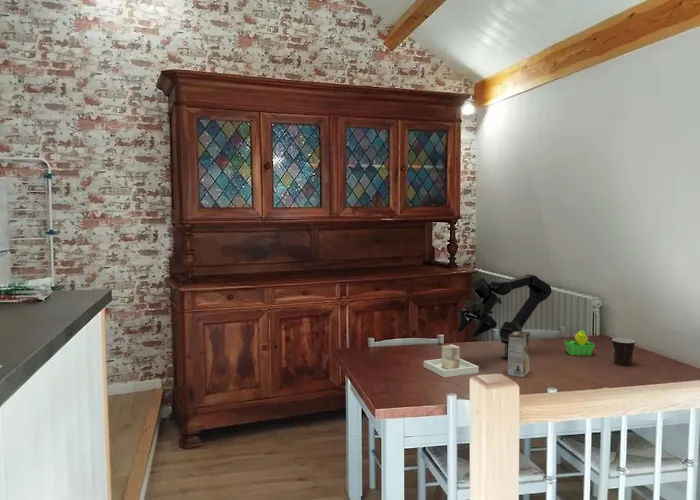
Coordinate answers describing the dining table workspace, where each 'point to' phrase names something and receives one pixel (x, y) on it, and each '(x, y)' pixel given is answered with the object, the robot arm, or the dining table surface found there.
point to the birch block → (450, 357)
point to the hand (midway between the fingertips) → (465, 334)
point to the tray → (462, 370)
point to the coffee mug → (623, 351)
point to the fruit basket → (580, 345)
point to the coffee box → (518, 353)
